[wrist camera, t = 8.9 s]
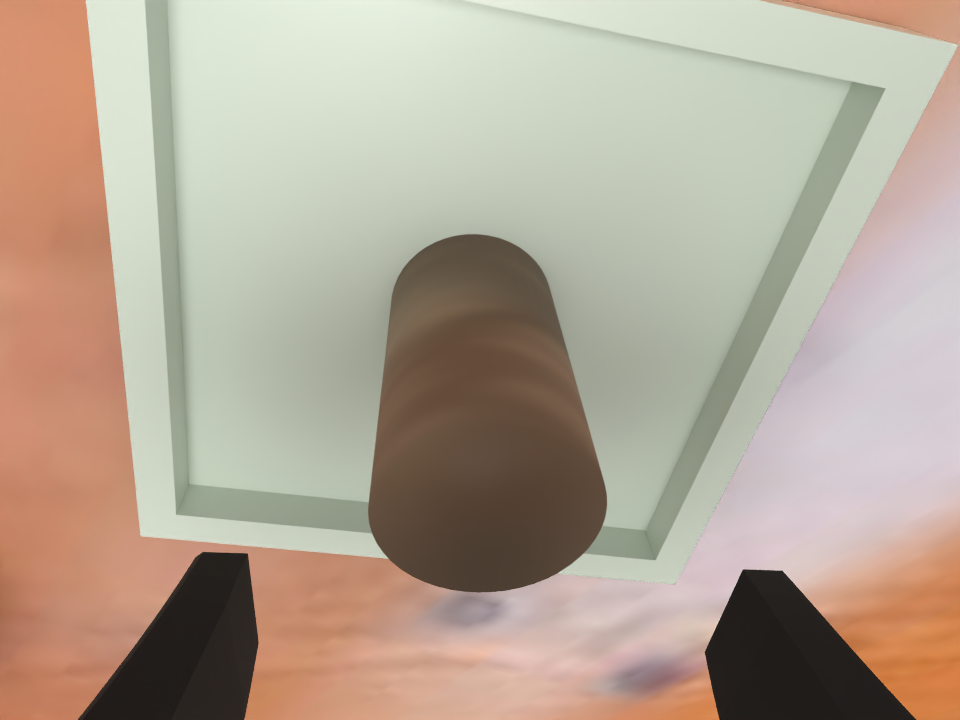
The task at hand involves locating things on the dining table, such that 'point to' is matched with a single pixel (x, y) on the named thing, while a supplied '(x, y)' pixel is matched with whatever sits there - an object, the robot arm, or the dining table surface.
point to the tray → (477, 230)
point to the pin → (481, 425)
